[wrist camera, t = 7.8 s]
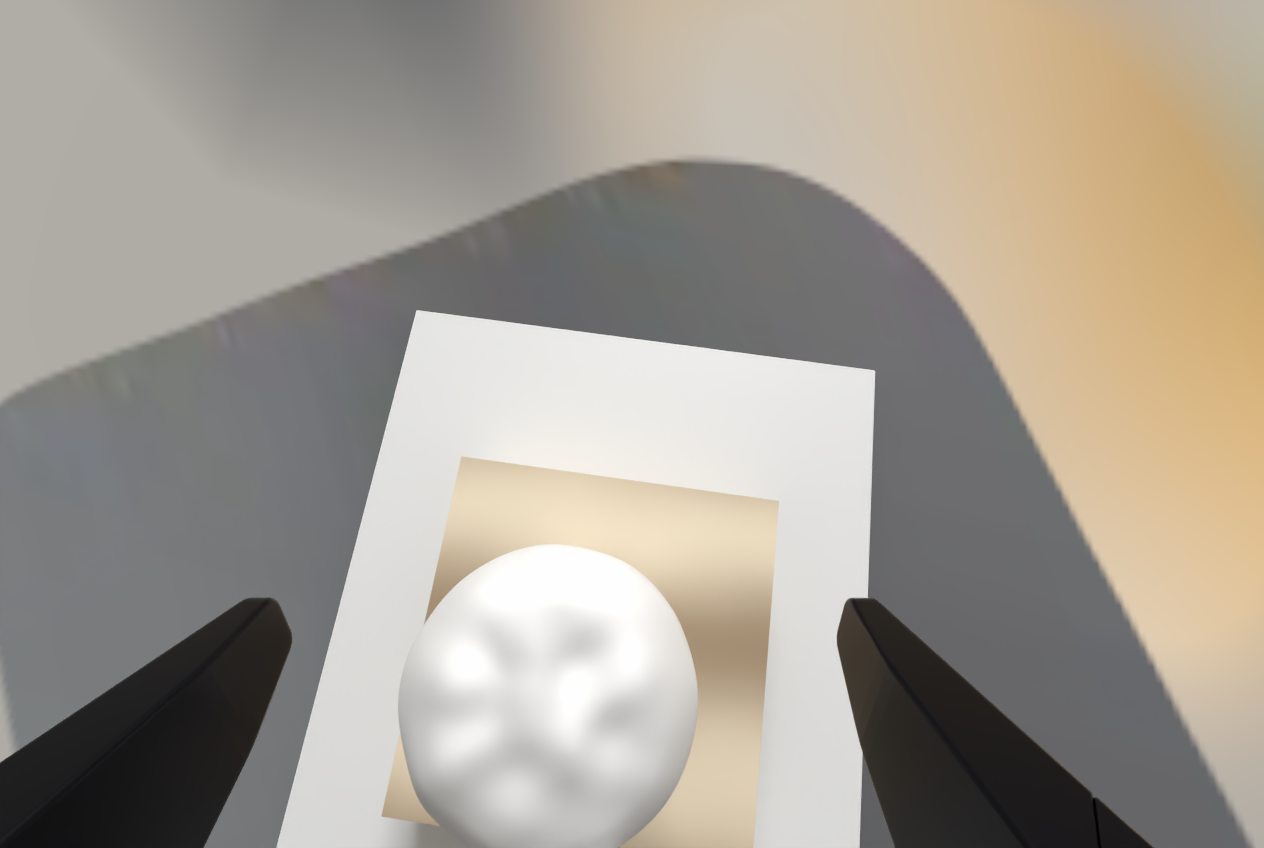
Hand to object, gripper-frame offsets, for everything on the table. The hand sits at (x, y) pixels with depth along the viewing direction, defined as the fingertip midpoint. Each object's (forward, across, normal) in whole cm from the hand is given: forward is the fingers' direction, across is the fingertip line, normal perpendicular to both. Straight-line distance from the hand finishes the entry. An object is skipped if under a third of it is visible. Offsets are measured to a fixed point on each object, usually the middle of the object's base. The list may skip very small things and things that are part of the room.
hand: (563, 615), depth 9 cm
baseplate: (+8, 0, +10) cm, 12 cm away
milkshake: (+5, 0, +7) cm, 8 cm away
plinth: (+8, 0, +10) cm, 12 cm away
